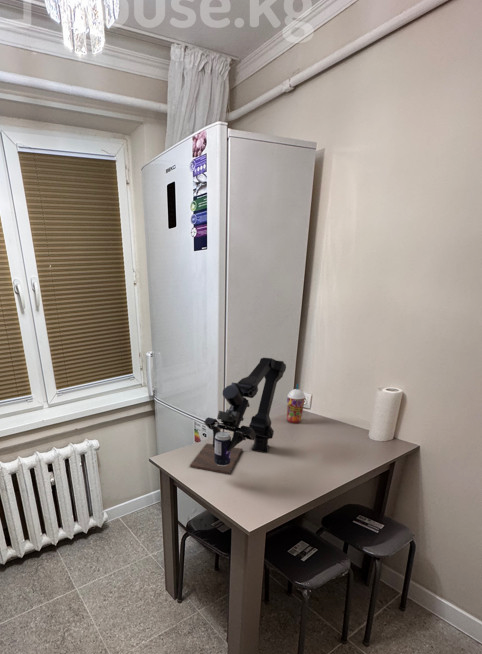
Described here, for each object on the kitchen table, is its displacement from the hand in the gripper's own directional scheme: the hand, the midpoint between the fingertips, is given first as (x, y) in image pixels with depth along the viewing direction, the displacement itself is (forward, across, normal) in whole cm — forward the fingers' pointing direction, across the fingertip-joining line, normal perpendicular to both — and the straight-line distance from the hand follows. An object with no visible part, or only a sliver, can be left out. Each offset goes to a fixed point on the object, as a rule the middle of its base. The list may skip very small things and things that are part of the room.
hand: (220, 449), depth 129 cm
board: (-1, -10, +20) cm, 22 cm away
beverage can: (+4, 0, +6) cm, 7 cm away
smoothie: (-42, 0, +62) cm, 75 cm away
